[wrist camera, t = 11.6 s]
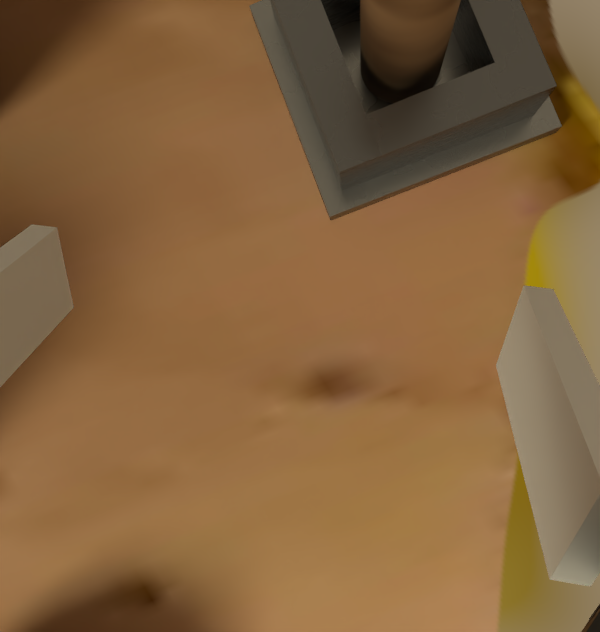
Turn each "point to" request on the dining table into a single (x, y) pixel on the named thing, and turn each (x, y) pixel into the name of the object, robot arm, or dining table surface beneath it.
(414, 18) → the brown wooden cylinder
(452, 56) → the grey square socket base
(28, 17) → the dining table surface
